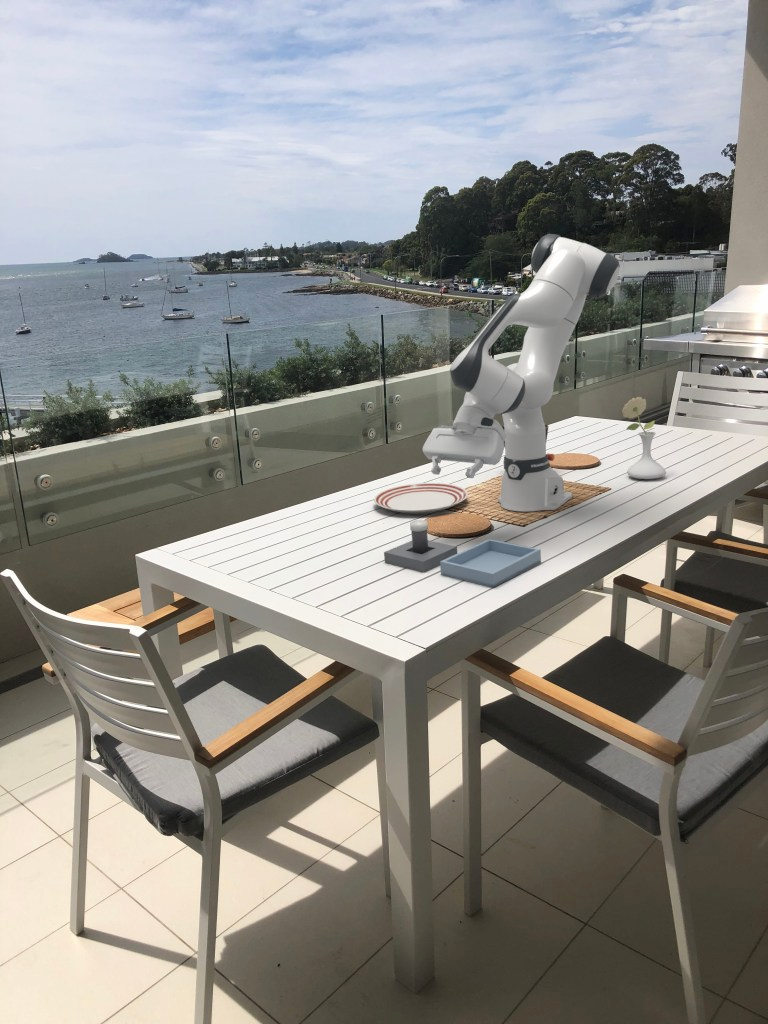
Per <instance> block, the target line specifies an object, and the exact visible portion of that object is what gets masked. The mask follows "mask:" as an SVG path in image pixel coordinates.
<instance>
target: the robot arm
mask: <svg viewBox="0 0 768 1024" xmlns="http://www.w3.org/2000/svg"><path fill="white" fill-rule="evenodd" d="M620 264H621V263H620V262H619V259H618V258H617V257H616V256H614V255H612V254H611V253H609V252H605V251H603V250H601V249H599V248H597V247H595V246H593V245H591V244H588V243H585V242H580V241H577V240H574V239H571V238H567V237H563V236H562V237H561V235H560V234H554V233H548V234H545V235H544V236H541V238H540V239H539V240H538V242H537V243H536V244H535V246H534V248H533V250H532V255H531V261H530V266H531V268H532V271H533V272H534V273H535V275H534V277H533V279H532V281H531V283H530V284H529V285H528V288H526V289H525V290H524V291H523V292H521V293H513V294H512V295H510V296H508V298H505V300H504V301H503V302H502V303H501V304H500V305H499V306H498V307H497V309H496V310H495V311H494V312H493V314H492V315H491V316H490V317H489V318H488V319H487V321H486V322H485V324H484V325H483V326H482V328H481V329H480V330H479V331H478V333H477V334H476V335H475V336H474V337H473V339H472V340H471V341H470V343H468V344H467V346H466V347H465V348H464V349H463V350H462V351H461V352H460V353H459V354H457V356H456V357H455V358H454V359H453V361H452V364H451V366H450V368H449V373H450V377H451V381H452V383H453V385H454V386H455V387H456V388H458V389H460V390H462V391H464V392H465V394H464V396H463V397H464V398H463V402H462V404H461V406H460V407H459V409H458V411H457V412H456V416H455V417H454V421H453V423H452V425H444V424H441V425H438V426H436V427H434V428H433V429H432V430H431V433H429V435H428V437H427V439H426V440H425V442H424V444H423V446H422V452H423V454H424V455H425V457H426V458H427V460H431V462H432V467H431V471H430V472H431V473H432V474H433V475H438V476H439V475H440V474H441V471H442V468H441V467H440V465H439V464H441V463H442V461H446V462H447V461H448V462H457V463H468V464H470V463H471V464H472V466H471V467H470V468H469V467H468V468H467V469H466V472H465V476H466V478H468V479H474V478H475V476H476V473H478V472H479V471H480V470H481V469H482V468H483V467H484V465H490V466H496V465H497V464H499V463H500V462H501V459H502V457H503V454H505V455H504V457H503V469H504V472H503V473H502V475H501V483H500V484H501V485H500V496H499V497H498V498H497V502H498V503H500V507H501V508H503V509H505V510H507V511H508V510H509V511H514V512H536V511H537V512H538V511H554V510H555V511H556V510H558V509H559V508H560V507H561V506H562V505H564V504H565V503H566V502H568V501H569V500H571V499H572V498H573V493H572V492H570V491H566V490H565V486H564V484H565V483H564V478H563V476H561V475H560V474H559V473H558V472H556V470H554V469H553V468H551V464H550V461H551V462H553V461H555V458H556V457H555V454H554V453H547V446H546V445H547V440H546V428H545V424H546V423H545V421H544V418H543V414H542V413H543V412H542V407H543V406H545V405H547V404H548V403H549V401H550V400H551V399H552V396H553V394H554V384H555V383H554V382H555V381H556V377H557V374H558V370H559V368H560V367H559V366H560V363H561V359H562V356H563V353H564V352H565V349H566V347H567V345H568V343H569V340H570V338H571V337H572V334H573V332H574V330H575V329H576V325H577V323H578V321H579V320H580V317H581V314H582V312H583V309H584V305H585V302H586V298H587V296H588V298H587V302H591V301H592V300H594V299H599V298H602V297H603V296H605V295H607V294H608V293H609V291H611V290H612V289H613V288H614V286H615V285H616V283H617V282H618V280H619V279H618V278H619V274H620V266H621V265H620ZM510 325H518V326H524V327H527V330H526V332H525V334H524V337H523V343H522V348H521V352H520V355H519V359H518V362H516V363H515V362H514V363H511V364H509V365H507V366H506V365H504V364H502V363H501V362H499V361H498V360H496V359H494V358H493V357H492V356H491V355H490V354H489V350H490V348H491V347H492V346H493V345H494V343H495V342H497V340H498V339H499V337H500V336H501V334H502V333H503V332H504V331H505V329H506V328H508V326H510ZM496 415H498V416H500V415H501V416H502V420H503V425H501V424H500V422H499V421H498V420H497V419H494V417H495V416H496ZM502 426H504V430H503V428H502ZM504 441H505V447H504ZM504 452H505V453H504Z"/></svg>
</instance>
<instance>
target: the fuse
mask: <svg viewBox="0 0 768 1024" xmlns="http://www.w3.org/2000/svg"><path fill="white" fill-rule="evenodd" d="M428 526H429V524H428V521H427V520H424V519H416V520H412V521H410V522H409V528H410V529H409V530H410V532H411V541H412V546H413V552H414V553H418V554H424V553H426V552H428V540H429V538H428V529H429V527H428Z"/></svg>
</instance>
